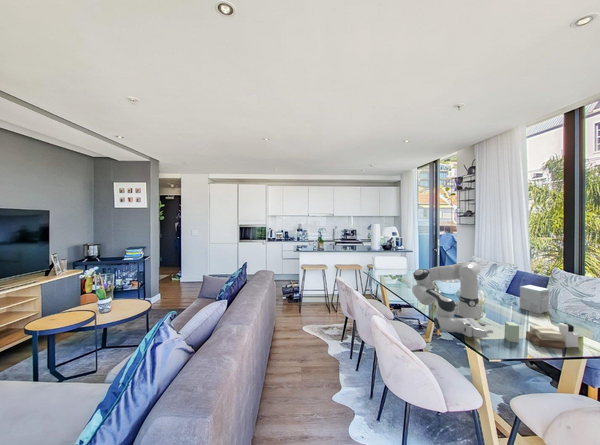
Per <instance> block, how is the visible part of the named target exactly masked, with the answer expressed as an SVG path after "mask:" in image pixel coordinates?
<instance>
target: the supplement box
mask: <svg viewBox="0 0 600 445" xmlns="http://www.w3.org/2000/svg"><path fill="white" fill-rule="evenodd" d="M549 302H550V288H547V287H546V288H545V287H542V286H541V287H540V286H536V285H532V284H528V285H522V286H521V285H520V286H519V309H523V310H526V311H528V312H533V313H536V314H543V313H546V312H549V306H550V303H549Z"/></svg>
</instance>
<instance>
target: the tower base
mask: <svg viewBox="0 0 600 445" xmlns="http://www.w3.org/2000/svg"><path fill="white" fill-rule="evenodd" d="M525 331H526V332H525V334H526V335H525V339H528V340H529V341H530V342H532V343H533V344H534V345H536V346H537V348H544V349H556V350H565V347H564V345H565V342H563V341H553V340H541V339H540V338H538V337H537V336H535V335H534V334H532V333H531V332H530V330H525Z"/></svg>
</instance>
